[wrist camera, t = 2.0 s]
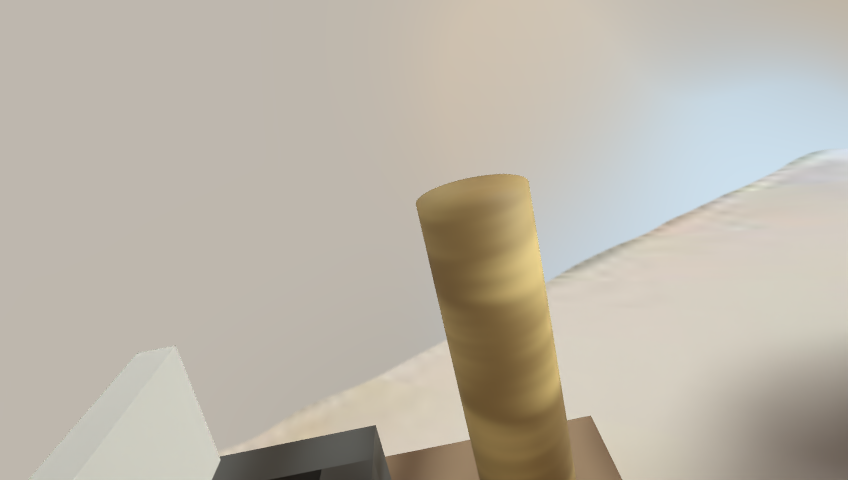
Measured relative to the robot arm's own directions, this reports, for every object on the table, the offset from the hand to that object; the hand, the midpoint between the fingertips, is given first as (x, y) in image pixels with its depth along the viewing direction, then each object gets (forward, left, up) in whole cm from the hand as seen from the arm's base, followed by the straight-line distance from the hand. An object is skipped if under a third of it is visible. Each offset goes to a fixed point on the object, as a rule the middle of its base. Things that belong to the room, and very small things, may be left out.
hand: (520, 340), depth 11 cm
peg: (0, -10, -16) cm, 19 cm away
